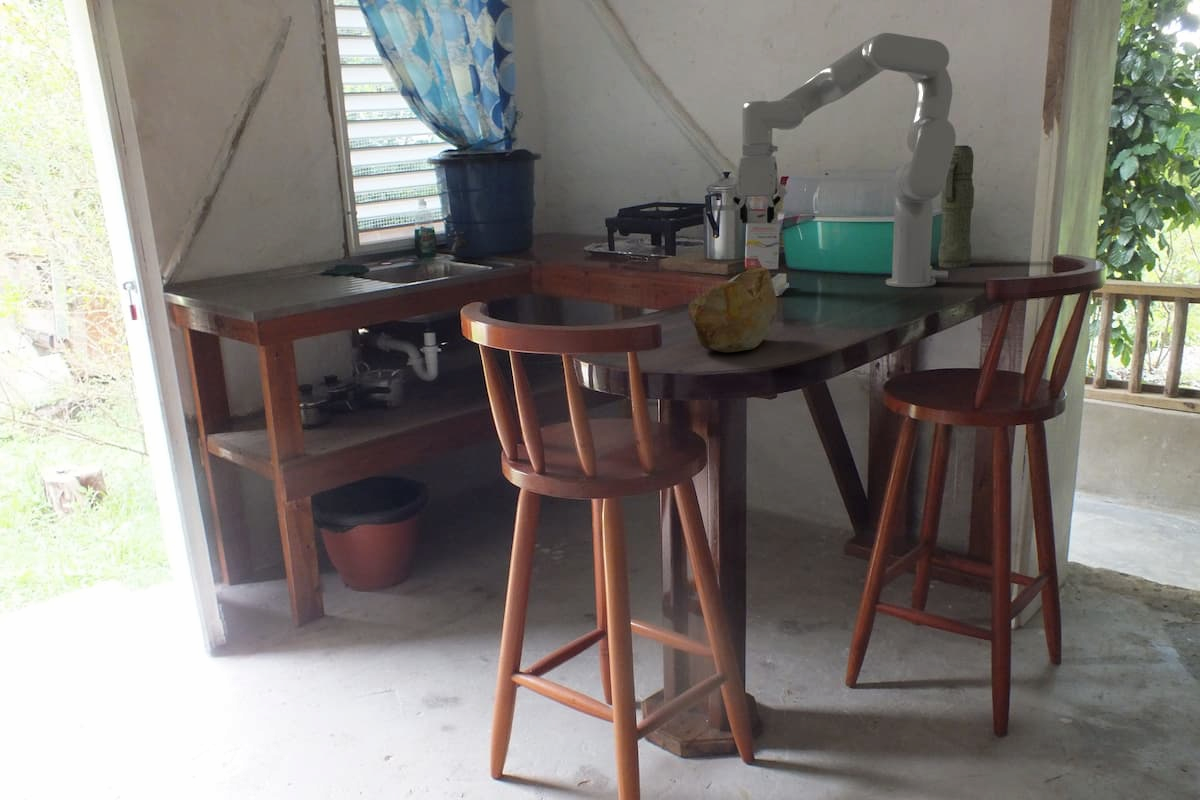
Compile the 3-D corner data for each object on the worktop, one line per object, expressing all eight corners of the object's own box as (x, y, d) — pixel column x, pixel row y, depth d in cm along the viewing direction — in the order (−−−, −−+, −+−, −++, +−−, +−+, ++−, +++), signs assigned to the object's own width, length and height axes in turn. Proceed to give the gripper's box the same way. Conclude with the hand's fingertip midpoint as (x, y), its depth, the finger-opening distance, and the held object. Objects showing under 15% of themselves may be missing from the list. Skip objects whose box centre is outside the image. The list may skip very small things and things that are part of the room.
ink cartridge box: (745, 269, 253) (746, 212, 249) (744, 266, 258) (745, 210, 254) (778, 269, 252) (780, 212, 248) (777, 266, 257) (778, 210, 253)
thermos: (932, 270, 282) (937, 146, 273) (944, 265, 291) (950, 145, 282) (963, 271, 277) (970, 145, 268) (974, 266, 286) (981, 144, 277)
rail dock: (788, 288, 261) (789, 273, 260) (778, 297, 247) (778, 281, 246) (738, 287, 266) (737, 273, 265) (725, 296, 252) (724, 281, 251)
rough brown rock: (713, 332, 207) (712, 262, 203) (787, 337, 198) (787, 264, 194) (662, 353, 188) (660, 277, 184) (741, 360, 179) (741, 280, 175)
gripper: (793, 149, 248) (792, 221, 252) (727, 152, 254) (728, 221, 258) (788, 150, 241) (787, 223, 245) (720, 152, 247) (721, 224, 252)
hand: (757, 221), depth 252 cm, fingers closed on ink cartridge box, 6 cm apart
